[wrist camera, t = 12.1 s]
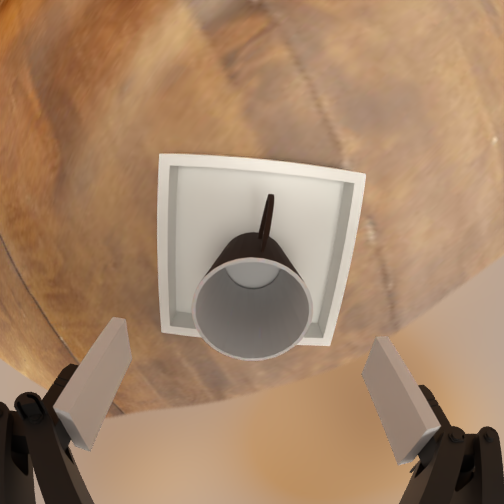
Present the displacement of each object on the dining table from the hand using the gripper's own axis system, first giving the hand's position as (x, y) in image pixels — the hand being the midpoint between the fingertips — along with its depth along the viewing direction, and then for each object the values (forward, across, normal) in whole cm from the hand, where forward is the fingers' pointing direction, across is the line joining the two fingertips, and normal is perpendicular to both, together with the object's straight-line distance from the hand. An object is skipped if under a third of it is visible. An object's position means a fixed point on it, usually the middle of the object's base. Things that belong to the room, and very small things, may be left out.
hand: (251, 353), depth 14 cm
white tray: (+17, 0, 0) cm, 17 cm away
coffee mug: (+16, +1, 0) cm, 16 cm away
